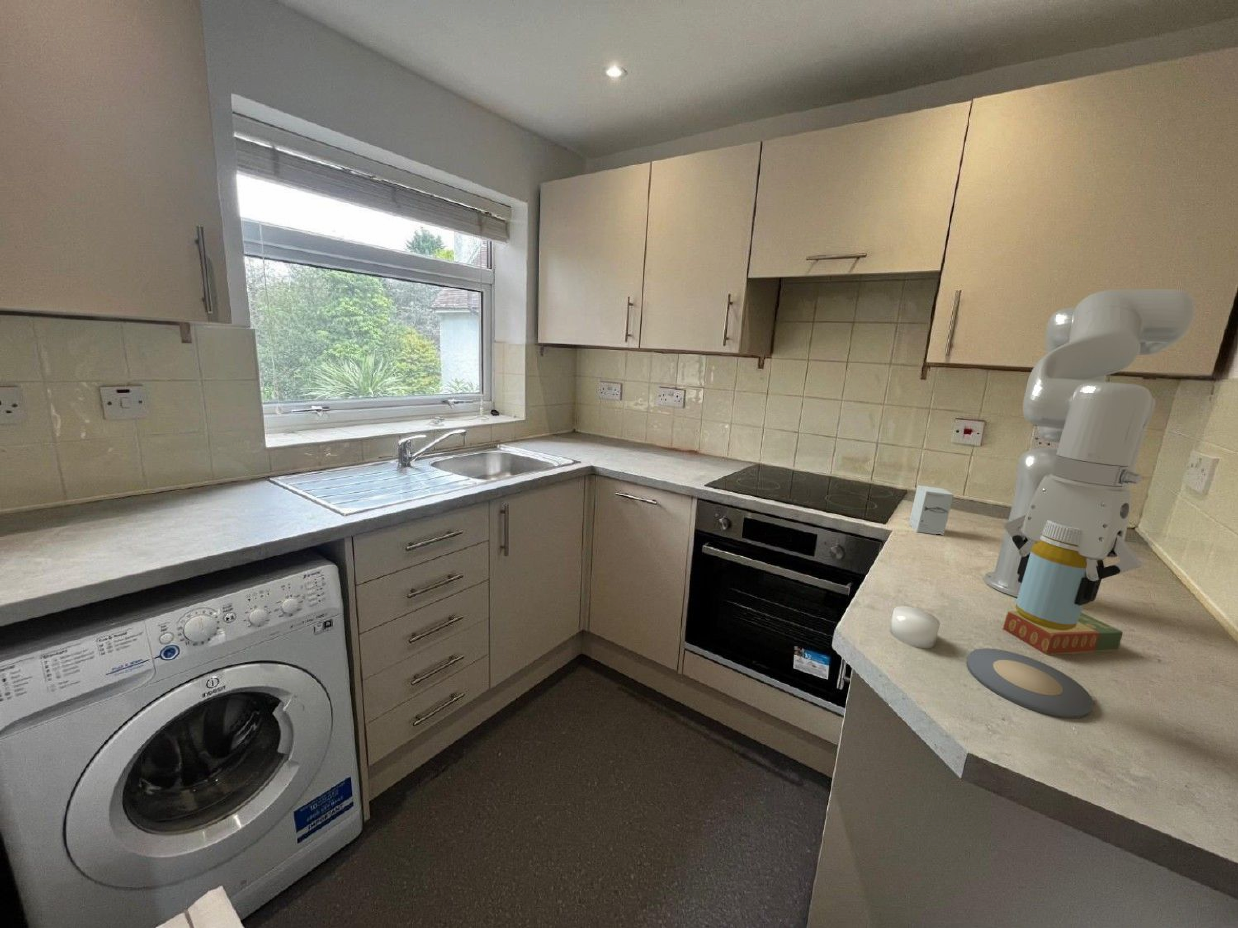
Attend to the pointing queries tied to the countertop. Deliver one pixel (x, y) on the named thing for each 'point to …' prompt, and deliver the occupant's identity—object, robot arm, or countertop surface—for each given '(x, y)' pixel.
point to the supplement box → (930, 510)
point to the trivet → (1029, 683)
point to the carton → (1065, 635)
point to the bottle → (1053, 579)
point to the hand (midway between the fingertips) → (1052, 590)
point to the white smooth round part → (914, 627)
